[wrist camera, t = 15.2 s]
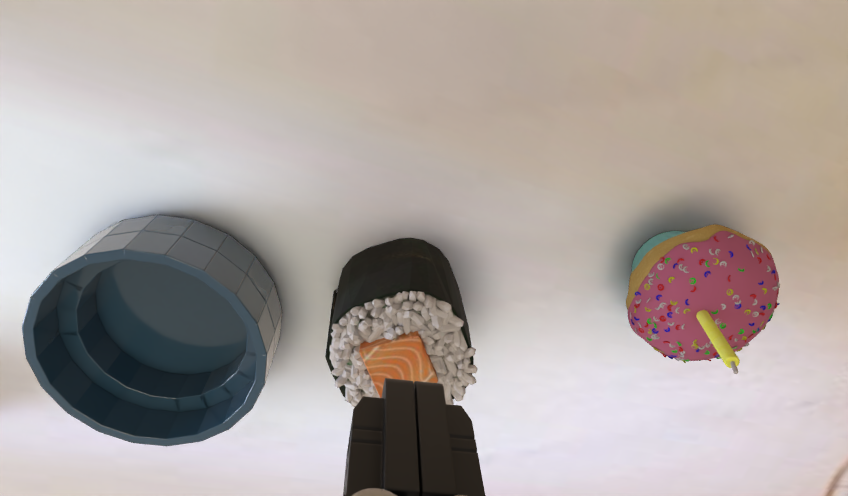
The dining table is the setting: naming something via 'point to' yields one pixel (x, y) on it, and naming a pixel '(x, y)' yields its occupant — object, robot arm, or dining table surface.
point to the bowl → (155, 331)
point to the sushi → (399, 322)
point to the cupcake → (702, 293)
